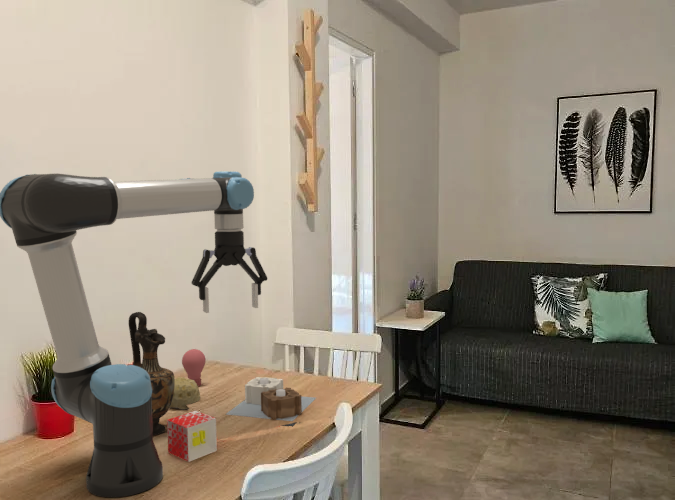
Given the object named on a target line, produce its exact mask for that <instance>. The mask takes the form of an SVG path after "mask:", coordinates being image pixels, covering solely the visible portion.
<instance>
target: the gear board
mask: <svg viewBox="0 0 675 500" xmlns="http://www.w3.org/2000/svg"><path fill="white" fill-rule="evenodd" d="M268 378H269V377H267V378H263V377H260V384H269V381H268ZM276 396H280V397H282V396H285V388H283V389H277V390H276ZM316 399H317V397H313V396H302V395H301V404H302V413H303V412H304V411H305V410H306V409H307V408H308V407H309V406H310V405H311V404H312V403H313V402H314V401H316ZM225 415H228V416H237V417H248V418H256V419H257V418H258V419H266V420H267V419H268V420H272V419H271V418H270V417H267V416H266V415H265V414H264V413H263V411H261V405H258V404H252V403H246V402H245V399H244V400H242V401H241V402H240V403H238V404H237V405H236V406H235V407H233V408H231V410H229V411H228V412H226V413H225ZM298 416H300V415H295V416H293V417H288V418H282V419H280V418H277V419H276V420H275V421H284V422H285V421H286V422H292V423H286V424H281V425H280V426H282V427H289V426H292V427H291V428H294V426H295V425H297V423H298V422H294V421H295V420H296V419H297V417H298Z"/></svg>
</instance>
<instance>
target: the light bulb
mask: <svg viewBox="0 0 675 500" xmlns="http://www.w3.org/2000/svg"><path fill="white" fill-rule="evenodd" d="M206 362H207V361H206V356H205V354H204V353H203V351H202V350H200V349H197V348H191V349H188V350H187V351H186V352H185V353H184V354H183V355H182V359H181V364H182V367H183V369H184V371H185V373H186V374H187V379H191V380H194V381H195V382H196V383H197V386H198V387H200V386H202V383H203V382H202V379H201V376H202V372H203V369H204V368H205V366H206Z"/></svg>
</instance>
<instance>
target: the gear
mask: <svg viewBox="0 0 675 500" xmlns="http://www.w3.org/2000/svg"><path fill="white" fill-rule="evenodd" d="M260 378H261V376H257V377H254V378H252V379H251V380H249V381H247V383H246V384H244V398H245V399H244V400H245V402H246V403H252V404H258V405H261V393H262V392H263V391H264V392H267V391H268V390H274V389H280V388H282V389H284V380H283V378H277V377H266V376H264V377H262V378H268V381H269V384H260Z"/></svg>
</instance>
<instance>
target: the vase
mask: <svg viewBox="0 0 675 500" xmlns="http://www.w3.org/2000/svg"><path fill="white" fill-rule="evenodd" d="M136 319H138V323H137V321H136ZM147 323H148V318H147V315H145V314H144V312H141V311H137V312H132V313H131V314H130V315H129V318H128V330H129V336H130V337H129V338H130V344H131V348H132V349H131V350H132V365H134V366H138V367H141V368H143V369H144V370H146V371H147V372H148V374H149V376H150V381H151V387H152V425H153V436H156V435H160V434H163V433H165V432H166V430H167V427H166V426H165V424H161V423H160V421H161V418H163V417H164V416H165V415H166V414H167V413H168V411H169V410H170V409H171V408H170V405H171V402H172V399H173V394H174V387H175V379H176V378H175V374H174V372H173V371H172V370H170V369H168V368H167V367H166V368H165V367H162V366H160V363H159V359H158V350H159V349H158V348H159V346H160V345H164V344H165V343H166V337H165V336H164V335H162V334H161V333H158V330H157V328H152V329H148V328H147V326H148V325H147ZM137 324H138V325H137ZM140 346H141V347H140ZM141 349H142V356H141ZM141 358H142V360H141Z"/></svg>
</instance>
